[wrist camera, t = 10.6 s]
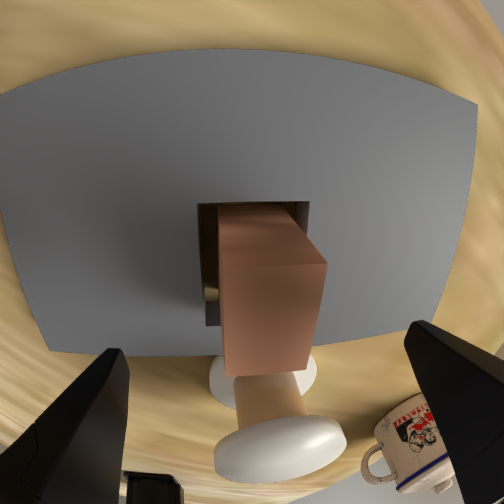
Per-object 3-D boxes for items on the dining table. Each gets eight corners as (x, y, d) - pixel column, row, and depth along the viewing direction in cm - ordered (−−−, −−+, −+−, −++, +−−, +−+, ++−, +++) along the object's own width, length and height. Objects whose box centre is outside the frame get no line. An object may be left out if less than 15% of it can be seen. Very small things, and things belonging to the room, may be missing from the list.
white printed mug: (446, 377, 24) (496, 451, 14) (424, 418, 28) (459, 481, 18) (352, 417, 24) (393, 514, 13) (343, 451, 28) (371, 527, 17)
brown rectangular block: (218, 289, 15) (225, 376, 10) (217, 205, 13) (222, 266, 8) (274, 286, 16) (306, 369, 10) (281, 205, 14) (328, 263, 8)
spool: (213, 404, 19) (220, 487, 13) (204, 337, 16) (208, 442, 10) (304, 394, 20) (330, 471, 14) (319, 327, 17) (363, 419, 11)
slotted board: (60, 329, 15) (49, 350, 13) (13, 98, 9) (-9, 98, 7) (415, 307, 18) (430, 323, 16) (454, 102, 12) (477, 104, 10)
